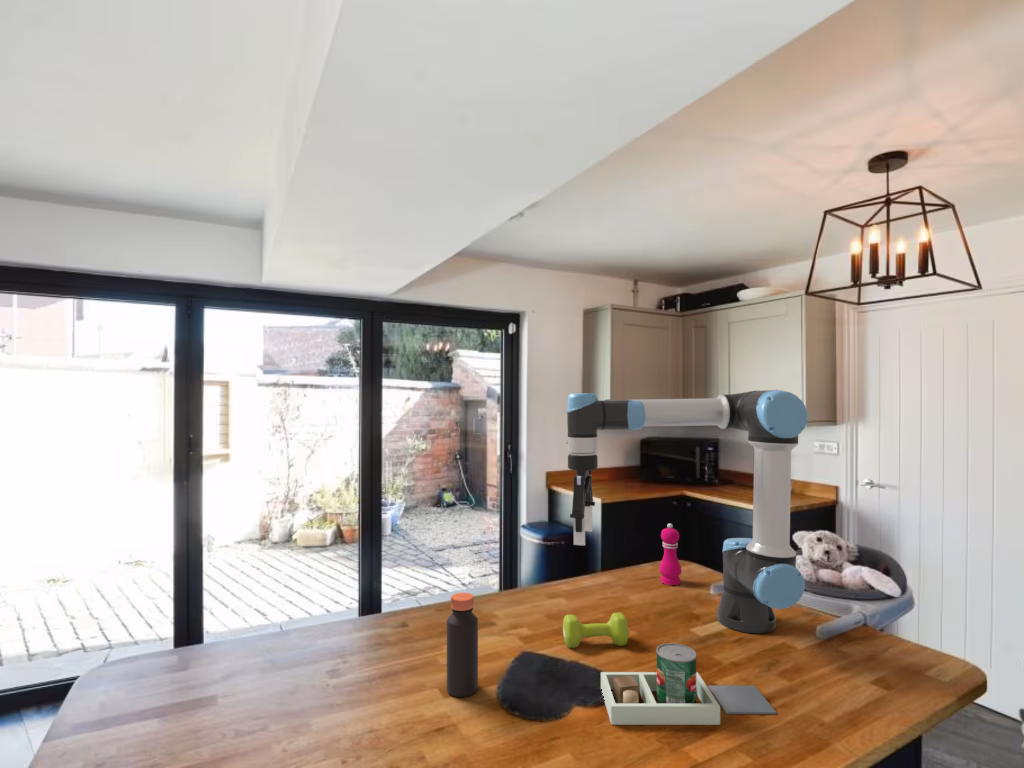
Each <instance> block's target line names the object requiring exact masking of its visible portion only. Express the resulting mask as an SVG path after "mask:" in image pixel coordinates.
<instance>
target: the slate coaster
mask: <svg viewBox="0 0 1024 768" xmlns="http://www.w3.org/2000/svg"><path fill="white" fill-rule="evenodd" d="M707 687H708V689H709V690H710V692H711V693H712V695H713V696H714V698H715V699H716V701H717V702H718V704H719V705H720V708H721V709H722V710H723V712H724V713H725V714H726V715H777V714H778V713H777V711H776V710H775V708H774V707H773V706H772V705H771V704H770V702H769V701H768V700H767V698H766V697H765V696H764V695H763V694H762V693H761V691H760V690H759V689H758V688H757V687H756V685H755V684H754V685H750V684H749V685H748V684H747V685H746V684H745V685H742V684H741V685H732V684H730V685H727V684H726V685H725V684H723V685H722V684H721V685H719V684H718V685H714V684H713V685H712V684H711V685H710V684H709V685H708V686H707Z"/></svg>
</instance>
